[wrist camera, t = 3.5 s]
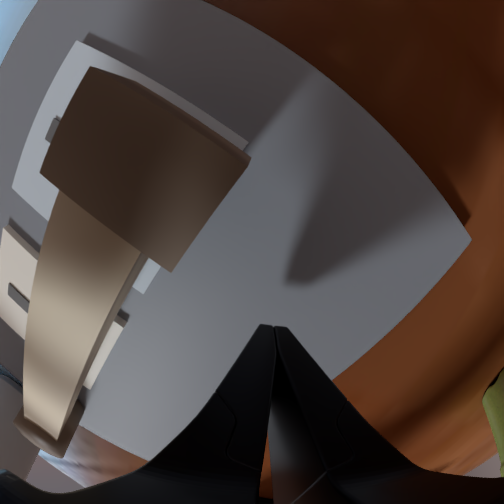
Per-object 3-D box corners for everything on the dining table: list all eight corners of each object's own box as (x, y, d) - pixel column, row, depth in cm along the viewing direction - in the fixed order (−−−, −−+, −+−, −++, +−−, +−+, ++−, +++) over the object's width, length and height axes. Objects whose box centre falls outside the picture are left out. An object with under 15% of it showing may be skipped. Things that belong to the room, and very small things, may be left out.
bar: (79, 421, 14) (60, 462, 10) (37, 391, 13) (14, 429, 10) (252, 154, 8) (246, 170, 4) (152, 87, 7) (78, 62, 3)
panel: (460, 232, 9) (479, 244, 8) (176, 463, 17) (173, 476, 16) (77, -32, 5) (62, -42, 4) (-29, 321, 13) (-38, 330, 11)
